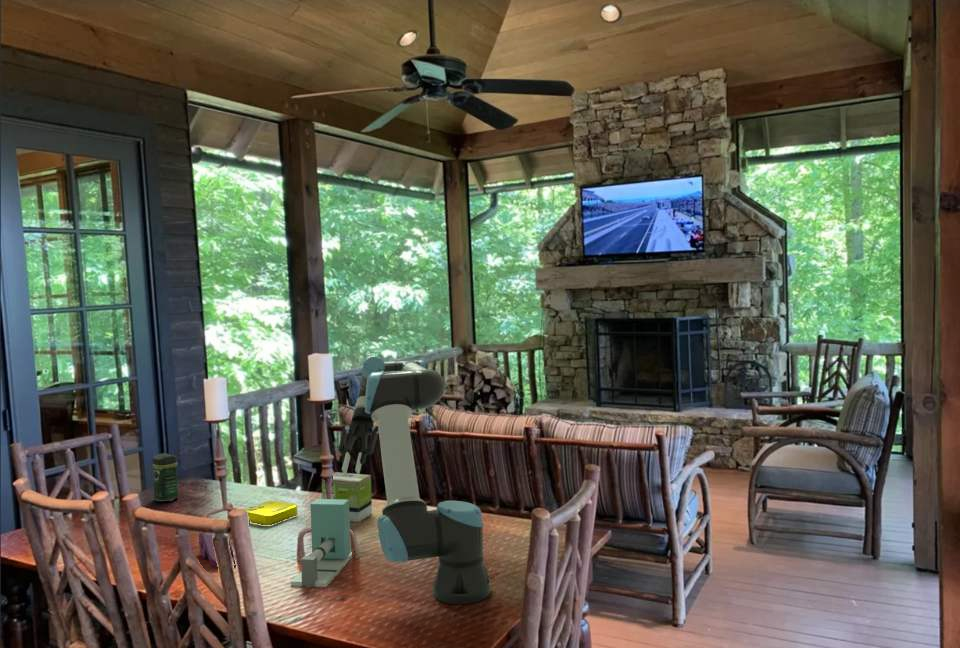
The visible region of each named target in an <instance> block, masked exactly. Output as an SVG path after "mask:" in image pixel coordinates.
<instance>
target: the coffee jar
mask: <svg viewBox="0 0 960 648" xmlns="http://www.w3.org/2000/svg"><path fill="white" fill-rule="evenodd" d="M152 470H153V499H154V498H155V499H158V500H166V499H172V498H177V497H178V496H179V483H178V457H177V456H176V455H174V454H169V453H166V452H163V453H157V454H155V455H154V456H153V457H152ZM178 498H179V497H178Z"/></svg>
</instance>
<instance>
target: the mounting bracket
mask: <svg viewBox="0 0 960 648" xmlns="http://www.w3.org/2000/svg"><path fill="white" fill-rule="evenodd" d="M229 545H230V550H231V553H230V555H231V554H232V556H231V558H232V559H233V562H234V564H235V560H234V555H233V550H232V546H231V542H230V539H229ZM198 546H199V553H200V556H201V555H202V556H203V557H207V558H208V560H209V562H210V564H211V565H212V566H214V567H215V568H217V563H216V559H215V554H214V549H213V543H212V535H207V534H201V533H198ZM202 556H201V557H202ZM203 557H202V558H203Z"/></svg>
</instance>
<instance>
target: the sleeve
mask: <svg viewBox="0 0 960 648" xmlns="http://www.w3.org/2000/svg"><path fill="white" fill-rule="evenodd" d="M309 506H310V526H311V528H310V529H311V530H310V531H311V535H310V536H311V554H312V553H313V551H314V549H316V548H317V547H319V546H320V545H321V544H322V543H323V542H324V541H325V540H326V539H327V538H328V537H330V538H335V546H334V547H333V548H332V549H331V550H330V551H329V552H328V553H327V554H326V555H325V557H324V558H332V559H345V558H346V557H347V556H348V555H349V554H350V553H351V525H350V523H351V521H350V517H349V500H344V499H322V498H317V499H315V500H313V501H312V502H311V503H310V505H309Z"/></svg>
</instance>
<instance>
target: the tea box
mask: <svg viewBox="0 0 960 648" xmlns="http://www.w3.org/2000/svg"><path fill="white" fill-rule="evenodd" d="M333 473H334V475H333V486H332V488H333V489H332V492H333V499H344V500H349V517H350V522H353V521H357V522H356V523H360V522H362V521H363V520H364V518H365V519H366V518H368V517H369V516H371V515H372V512H373V510H372V509H373V507H372V505H373V504H372V498H373V497H372V475H371V474H362V473H360V474H357V473H350V472H349V473H348V472H347V473H346V474H344V473H343V472H338V471H337V472H333ZM321 499H326V489H325V480H324V479H323V478H321ZM370 514H371V515H370ZM367 516H368V517H367ZM362 519H363V520H362ZM361 520H362V521H361ZM359 521H360V522H359Z"/></svg>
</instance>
